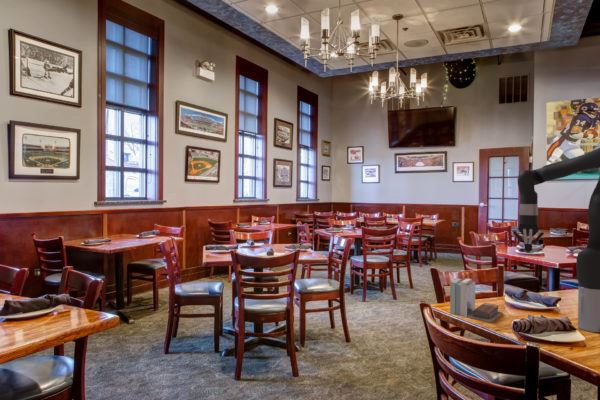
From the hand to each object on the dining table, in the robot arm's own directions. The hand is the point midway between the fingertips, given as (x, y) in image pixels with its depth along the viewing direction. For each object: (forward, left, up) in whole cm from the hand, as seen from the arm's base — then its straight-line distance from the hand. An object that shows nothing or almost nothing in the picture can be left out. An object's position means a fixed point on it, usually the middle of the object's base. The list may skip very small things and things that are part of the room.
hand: (528, 252), depth 188 cm
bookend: (+25, +14, -29) cm, 41 cm away
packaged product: (+15, +13, -30) cm, 36 cm away
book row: (+26, +14, -29) cm, 41 cm away
